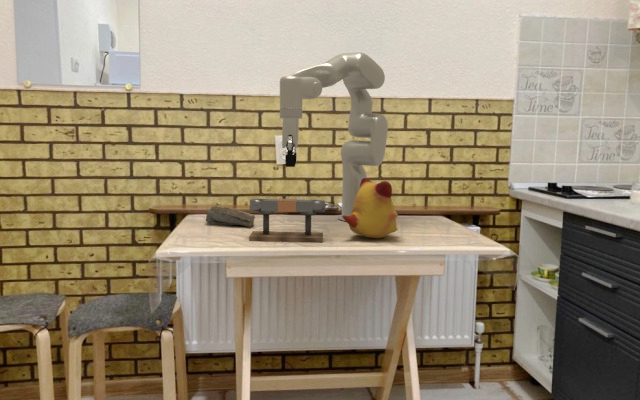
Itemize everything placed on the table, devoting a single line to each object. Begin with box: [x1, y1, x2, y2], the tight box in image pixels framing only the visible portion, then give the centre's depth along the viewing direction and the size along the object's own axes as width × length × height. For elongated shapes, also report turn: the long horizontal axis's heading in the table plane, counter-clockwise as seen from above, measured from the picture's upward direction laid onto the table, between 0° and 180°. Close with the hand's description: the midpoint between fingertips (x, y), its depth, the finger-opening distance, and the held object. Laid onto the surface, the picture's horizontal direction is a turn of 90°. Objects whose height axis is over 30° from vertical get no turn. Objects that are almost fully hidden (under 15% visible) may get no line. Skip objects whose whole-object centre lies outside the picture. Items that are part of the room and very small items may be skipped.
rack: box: [248, 211, 324, 243], centre depth 191 cm, size 24×9×10 cm, turn 89°
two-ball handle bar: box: [249, 198, 326, 214], centre depth 191 cm, size 25×5×4 cm, turn 89°
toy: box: [342, 177, 399, 239], centre depth 194 cm, size 20×21×20 cm
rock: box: [204, 205, 256, 228], centre depth 214 cm, size 11×18×10 cm, turn 79°
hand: (291, 165), depth 194 cm, fingers open, 9 cm apart
